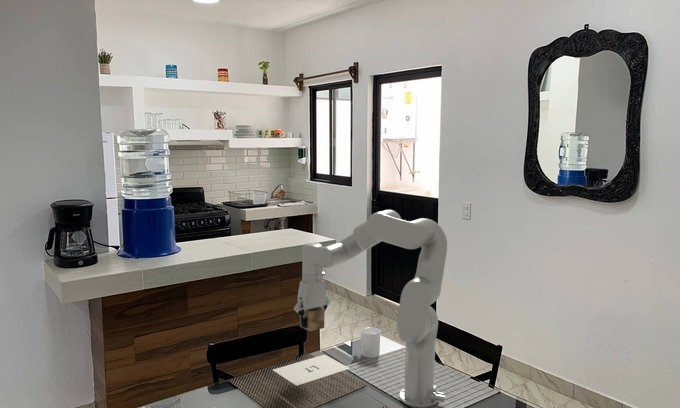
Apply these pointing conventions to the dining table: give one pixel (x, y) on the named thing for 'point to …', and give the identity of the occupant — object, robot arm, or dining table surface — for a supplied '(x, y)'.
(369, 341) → the white cup
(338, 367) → the board
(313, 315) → the walnut block
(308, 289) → the robot arm
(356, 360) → the dining table surface
